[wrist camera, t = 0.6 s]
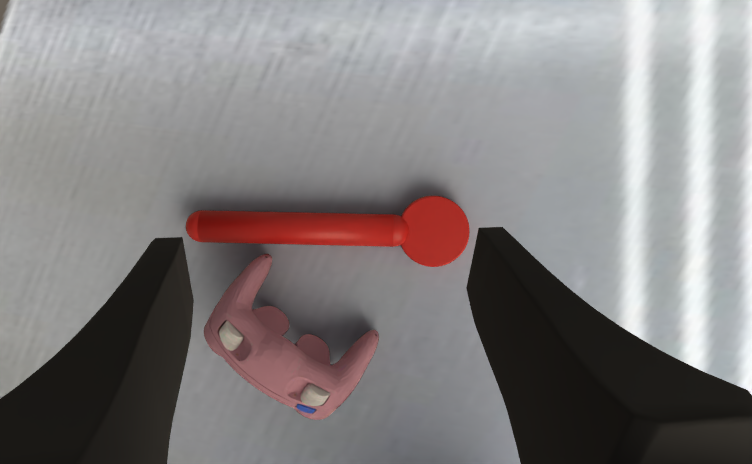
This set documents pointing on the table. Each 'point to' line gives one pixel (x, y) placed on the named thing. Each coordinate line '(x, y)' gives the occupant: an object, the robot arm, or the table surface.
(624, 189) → the table surface
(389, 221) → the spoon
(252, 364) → the video game controller
